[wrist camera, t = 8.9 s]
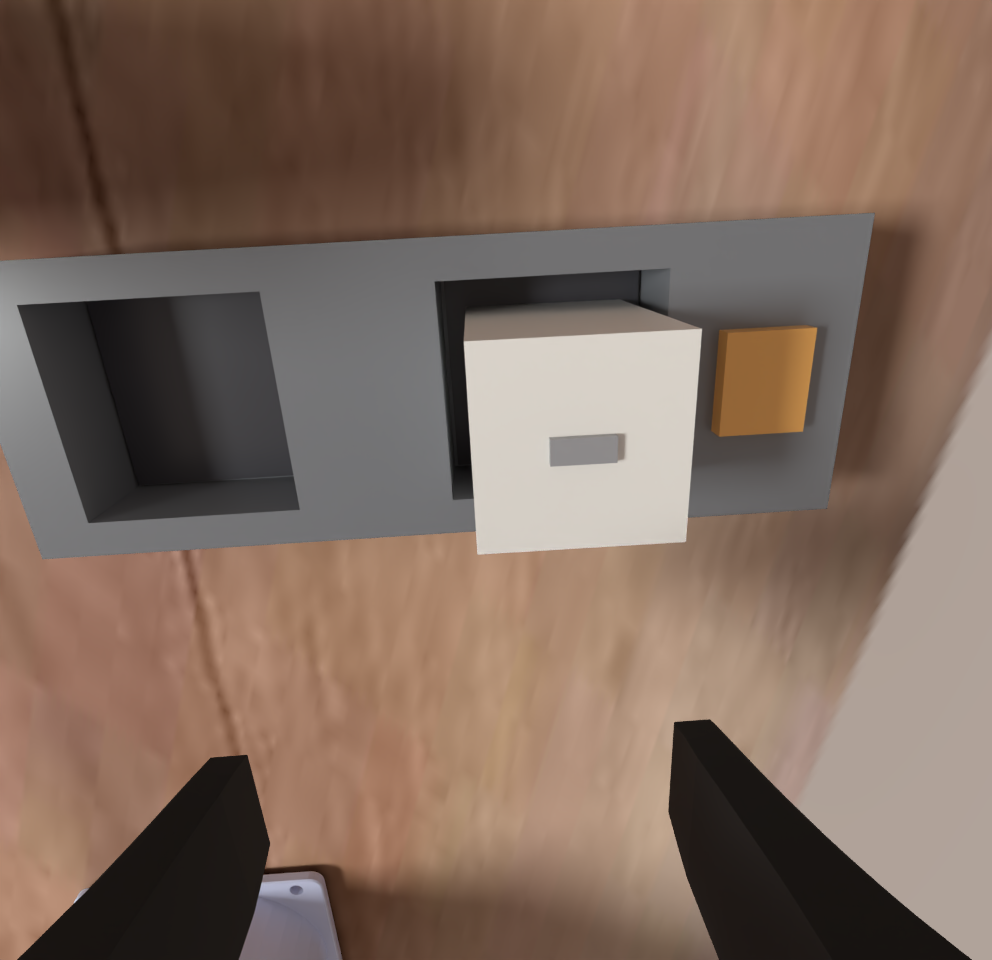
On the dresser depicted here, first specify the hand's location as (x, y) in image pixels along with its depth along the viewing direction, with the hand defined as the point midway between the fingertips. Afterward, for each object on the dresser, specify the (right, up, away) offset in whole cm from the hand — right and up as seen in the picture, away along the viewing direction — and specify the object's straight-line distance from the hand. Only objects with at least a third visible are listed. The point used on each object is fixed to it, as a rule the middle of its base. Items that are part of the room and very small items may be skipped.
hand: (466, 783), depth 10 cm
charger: (+2, +8, +6) cm, 10 cm away
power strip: (-1, +8, +7) cm, 11 cm away
